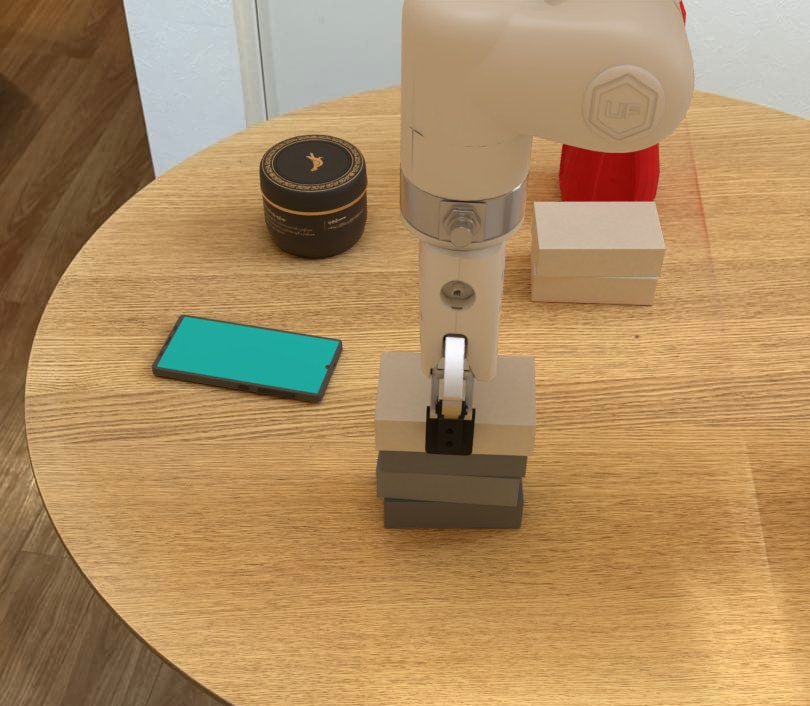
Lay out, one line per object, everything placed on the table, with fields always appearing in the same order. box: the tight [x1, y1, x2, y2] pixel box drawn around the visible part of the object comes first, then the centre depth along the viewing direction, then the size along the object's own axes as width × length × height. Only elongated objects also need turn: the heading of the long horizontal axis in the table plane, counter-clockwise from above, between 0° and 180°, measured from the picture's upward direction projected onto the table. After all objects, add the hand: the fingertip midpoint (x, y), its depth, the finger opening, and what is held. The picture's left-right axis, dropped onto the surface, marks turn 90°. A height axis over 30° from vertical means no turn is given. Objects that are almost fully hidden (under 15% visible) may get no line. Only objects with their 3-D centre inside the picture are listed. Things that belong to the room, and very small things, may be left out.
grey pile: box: [375, 450, 529, 529], centre depth 86 cm, size 11×6×9 cm, turn 87°
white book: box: [373, 350, 538, 457], centre depth 82 cm, size 11×7×3 cm, turn 87°
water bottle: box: [558, 0, 687, 202], centre depth 106 cm, size 9×11×25 cm
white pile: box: [529, 201, 667, 306], centre depth 105 cm, size 11×8×6 cm
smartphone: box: [151, 314, 344, 404], centre depth 99 cm, size 7×1×15 cm
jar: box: [258, 133, 369, 259], centre depth 109 cm, size 10×10×8 cm
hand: (450, 401), depth 82 cm, fingers open, 9 cm apart
